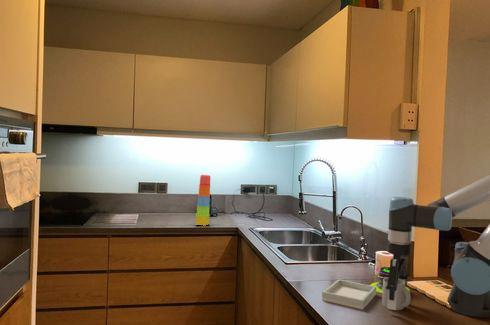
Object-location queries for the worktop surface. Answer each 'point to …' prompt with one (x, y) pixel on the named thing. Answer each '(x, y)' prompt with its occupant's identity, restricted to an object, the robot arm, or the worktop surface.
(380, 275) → the toy cauldron
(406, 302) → the cup
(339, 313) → the worktop surface
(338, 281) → the shallow rectangular tray
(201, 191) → the stacking cups
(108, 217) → the worktop surface
